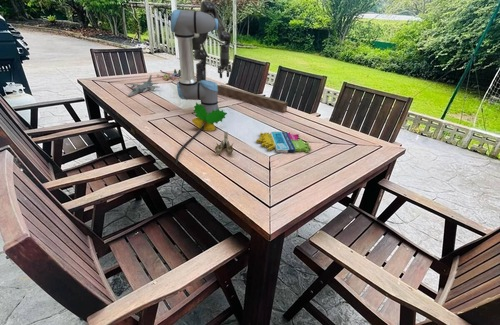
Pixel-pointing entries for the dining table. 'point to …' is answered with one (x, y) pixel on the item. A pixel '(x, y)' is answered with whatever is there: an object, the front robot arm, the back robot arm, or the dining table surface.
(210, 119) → the ornament
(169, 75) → the toy
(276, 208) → the dining table surface
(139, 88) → the airplane
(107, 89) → the dining table surface
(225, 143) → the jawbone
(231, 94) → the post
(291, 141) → the pack of gloves
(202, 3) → the back robot arm
